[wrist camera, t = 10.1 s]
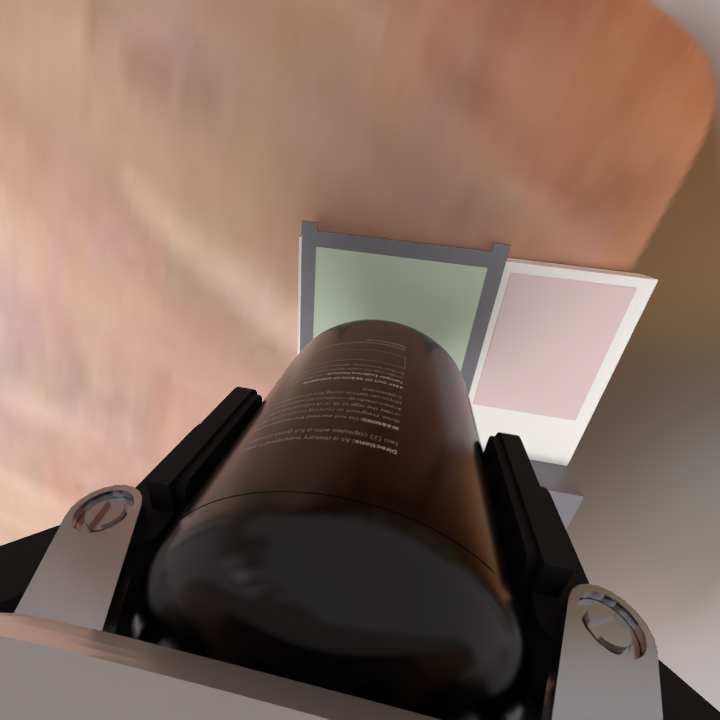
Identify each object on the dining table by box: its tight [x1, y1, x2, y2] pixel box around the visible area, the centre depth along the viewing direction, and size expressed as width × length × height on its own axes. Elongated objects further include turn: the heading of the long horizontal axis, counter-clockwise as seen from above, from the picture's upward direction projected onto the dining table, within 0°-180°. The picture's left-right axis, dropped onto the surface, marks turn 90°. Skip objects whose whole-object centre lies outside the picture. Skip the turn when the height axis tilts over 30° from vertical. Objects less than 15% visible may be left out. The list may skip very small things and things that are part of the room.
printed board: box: [297, 221, 658, 466], centre depth 22 cm, size 21×18×2 cm
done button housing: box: [483, 451, 584, 529], centre depth 23 cm, size 8×8×2 cm
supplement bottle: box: [131, 319, 534, 720], centre depth 8 cm, size 7×7×12 cm
